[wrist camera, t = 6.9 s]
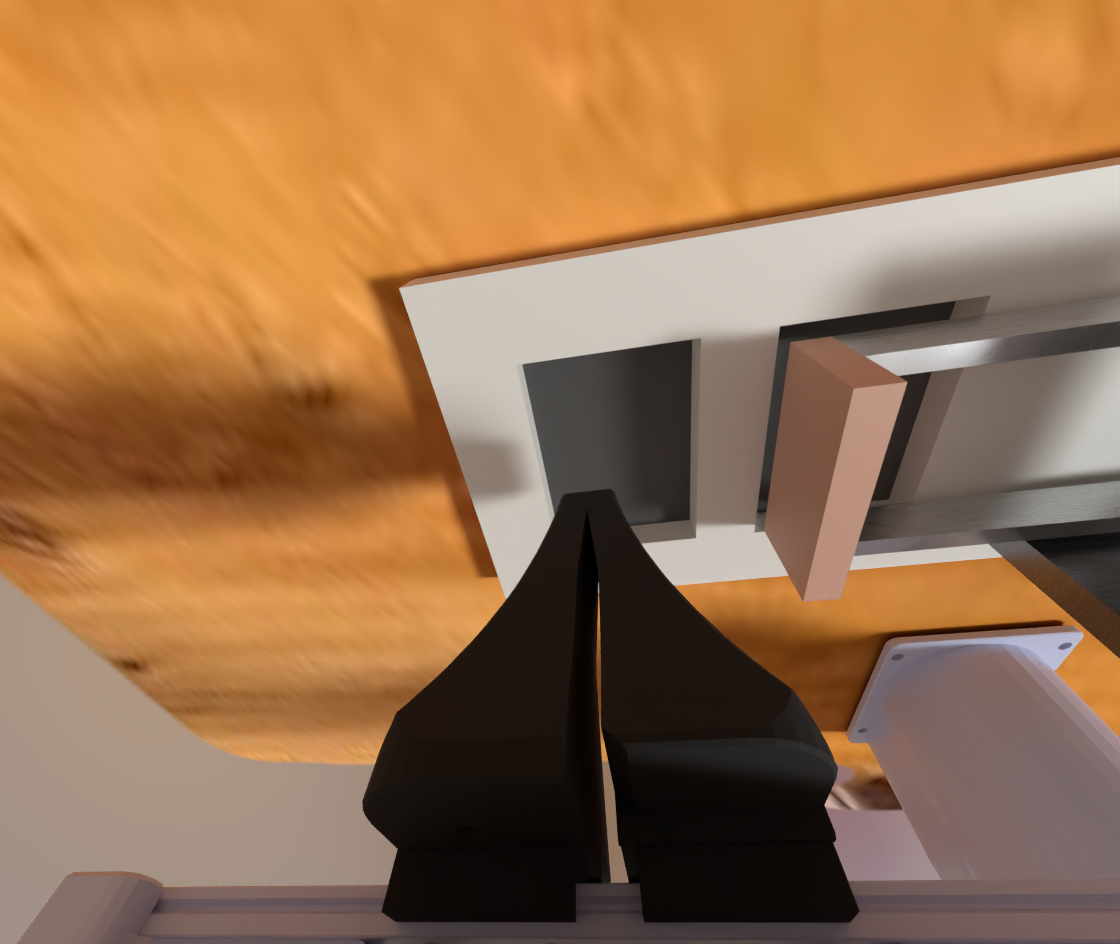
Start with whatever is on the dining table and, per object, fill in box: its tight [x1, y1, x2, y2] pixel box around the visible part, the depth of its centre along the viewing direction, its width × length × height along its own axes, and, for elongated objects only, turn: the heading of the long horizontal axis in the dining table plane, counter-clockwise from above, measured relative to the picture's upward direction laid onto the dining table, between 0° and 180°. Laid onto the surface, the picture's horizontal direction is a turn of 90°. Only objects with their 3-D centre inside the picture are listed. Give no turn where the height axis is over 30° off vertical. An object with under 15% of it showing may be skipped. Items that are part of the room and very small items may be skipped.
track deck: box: [399, 157, 1120, 599], centre depth 13 cm, size 30×12×1 cm, turn 99°
